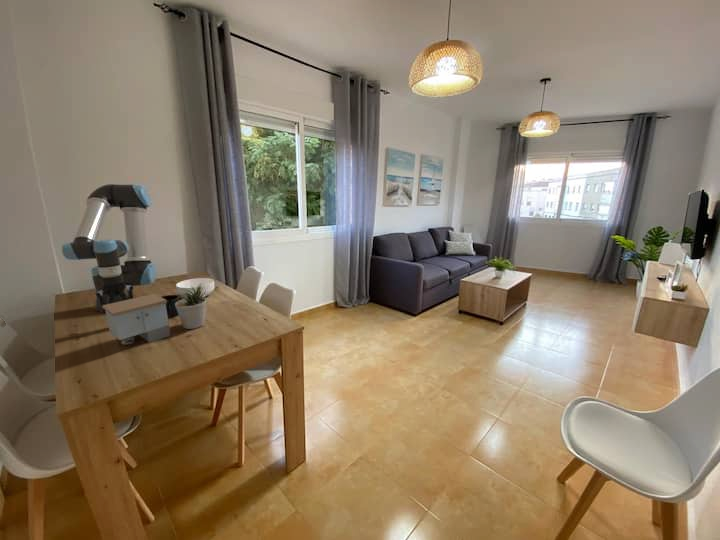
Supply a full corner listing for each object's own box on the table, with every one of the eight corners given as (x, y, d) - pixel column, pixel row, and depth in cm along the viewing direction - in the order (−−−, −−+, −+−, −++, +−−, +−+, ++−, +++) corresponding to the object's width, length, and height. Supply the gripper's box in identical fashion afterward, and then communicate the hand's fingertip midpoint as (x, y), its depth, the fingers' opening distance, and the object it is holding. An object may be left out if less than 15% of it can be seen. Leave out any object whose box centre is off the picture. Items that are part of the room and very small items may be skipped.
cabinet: (110, 342, 120) (102, 305, 116) (160, 327, 134) (154, 293, 130) (121, 353, 112) (113, 313, 108) (173, 335, 127) (167, 300, 122)
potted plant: (189, 334, 128) (183, 290, 123) (172, 327, 135) (166, 285, 130) (216, 324, 138) (211, 283, 133) (199, 317, 145) (194, 278, 140)
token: (124, 346, 118) (124, 344, 117) (119, 343, 120) (119, 340, 120) (137, 342, 121) (136, 339, 121) (132, 338, 124) (131, 336, 123)
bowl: (222, 294, 178) (220, 281, 176) (189, 304, 162) (187, 290, 160) (203, 289, 188) (202, 276, 186) (171, 297, 172) (169, 284, 170)
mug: (160, 322, 140) (157, 304, 137) (158, 314, 149) (155, 297, 146) (183, 317, 145) (180, 300, 143) (179, 310, 154) (177, 293, 152)
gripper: (87, 281, 120) (99, 333, 126) (137, 272, 133) (146, 320, 139) (83, 277, 124) (94, 328, 130) (131, 270, 138) (140, 316, 143)
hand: (121, 324), depth 135 cm, fingers closed on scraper, 4 cm apart
